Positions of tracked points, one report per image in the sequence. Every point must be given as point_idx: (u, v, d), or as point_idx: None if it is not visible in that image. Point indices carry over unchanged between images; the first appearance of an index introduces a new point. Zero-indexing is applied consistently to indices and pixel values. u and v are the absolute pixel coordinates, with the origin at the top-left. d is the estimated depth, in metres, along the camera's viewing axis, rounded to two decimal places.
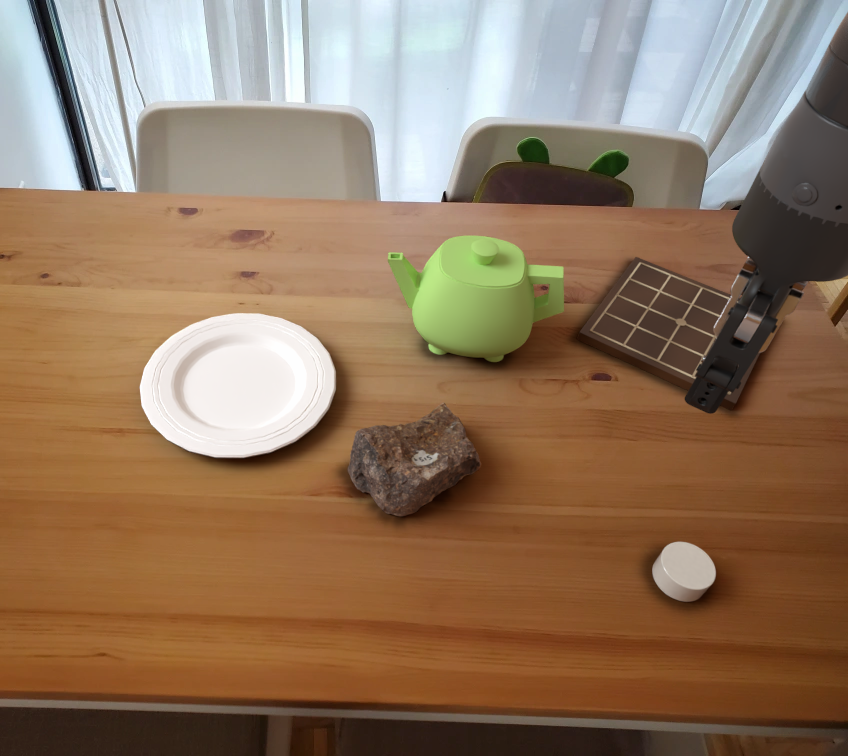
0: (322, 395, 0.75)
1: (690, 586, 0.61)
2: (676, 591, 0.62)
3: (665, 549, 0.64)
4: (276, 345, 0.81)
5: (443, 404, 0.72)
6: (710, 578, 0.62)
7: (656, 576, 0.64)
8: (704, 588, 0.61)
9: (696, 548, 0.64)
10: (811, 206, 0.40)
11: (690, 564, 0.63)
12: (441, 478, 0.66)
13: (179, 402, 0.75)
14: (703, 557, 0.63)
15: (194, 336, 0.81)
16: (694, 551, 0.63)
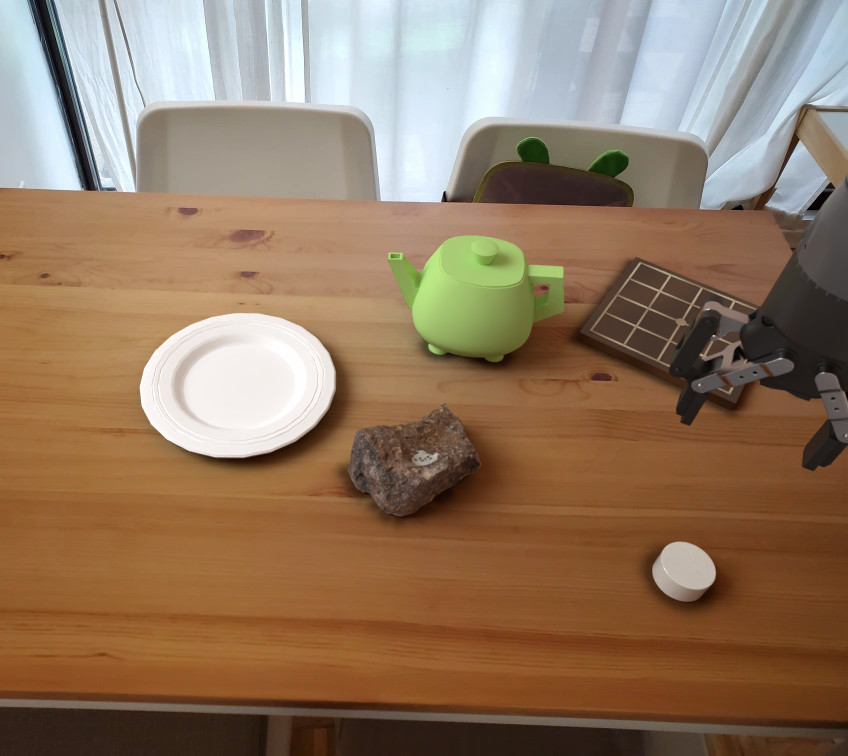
0: (322, 395, 0.75)
1: (690, 586, 0.61)
2: (676, 591, 0.62)
3: (665, 549, 0.64)
4: (276, 345, 0.81)
5: (443, 404, 0.72)
6: (710, 578, 0.62)
7: (656, 576, 0.64)
8: (704, 588, 0.61)
9: (696, 548, 0.64)
10: (801, 240, 0.42)
11: (690, 564, 0.63)
12: (441, 478, 0.66)
13: (179, 402, 0.75)
14: (703, 557, 0.63)
15: (194, 336, 0.81)
16: (694, 551, 0.63)
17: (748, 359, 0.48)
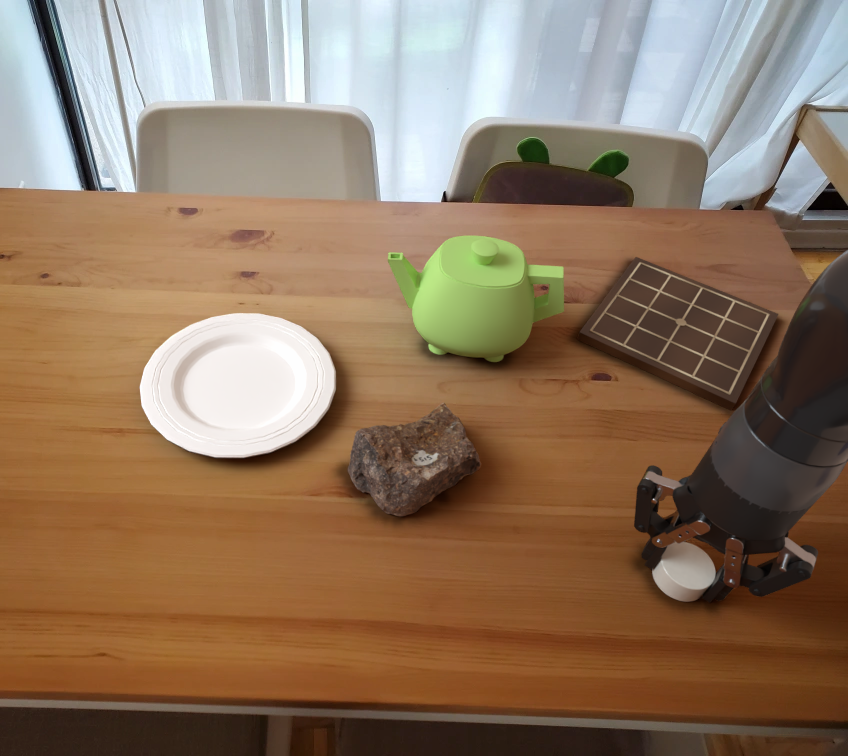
0: (322, 395, 0.75)
1: (690, 586, 0.61)
2: (676, 591, 0.62)
3: None
4: (276, 345, 0.81)
5: (443, 404, 0.72)
6: (710, 578, 0.62)
7: (656, 576, 0.64)
8: (704, 588, 0.61)
9: (696, 548, 0.64)
10: (717, 435, 0.53)
11: (690, 564, 0.63)
12: (441, 478, 0.66)
13: (179, 402, 0.75)
14: (703, 557, 0.63)
15: (194, 336, 0.81)
16: (694, 551, 0.63)
17: (679, 514, 0.58)
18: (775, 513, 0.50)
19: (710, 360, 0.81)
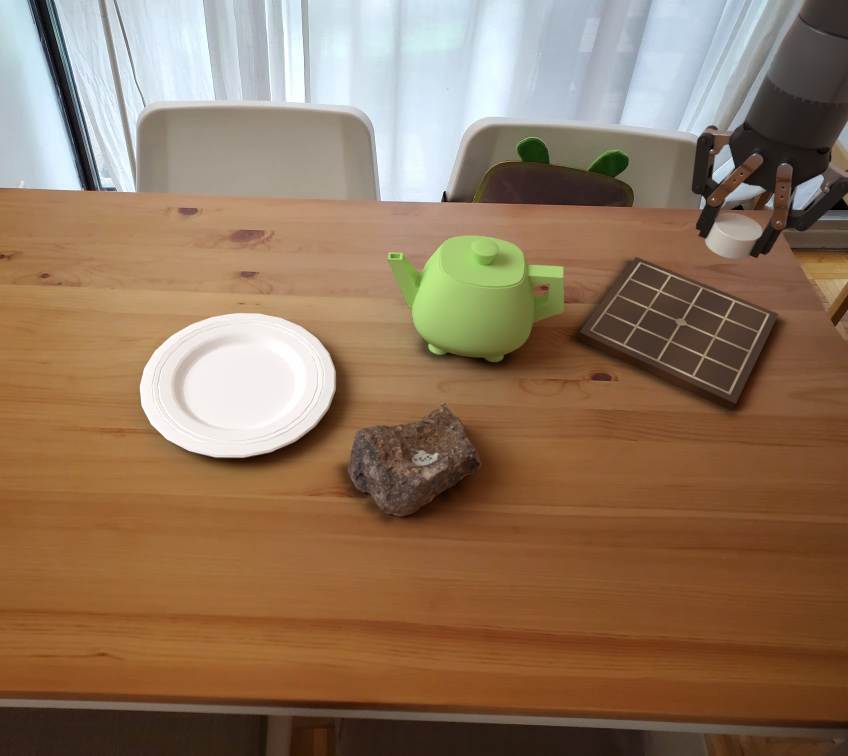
0: (322, 395, 0.75)
1: (741, 238, 0.70)
2: (728, 247, 0.71)
3: (717, 216, 0.72)
4: (276, 345, 0.81)
5: (443, 404, 0.72)
6: (758, 234, 0.70)
7: (709, 241, 0.72)
8: (753, 240, 0.70)
9: (744, 216, 0.72)
10: None
11: (740, 226, 0.71)
12: (441, 478, 0.66)
13: (179, 402, 0.75)
14: (751, 222, 0.72)
15: (194, 336, 0.81)
16: (742, 218, 0.72)
17: (734, 161, 0.67)
18: (824, 107, 0.58)
19: (710, 360, 0.81)
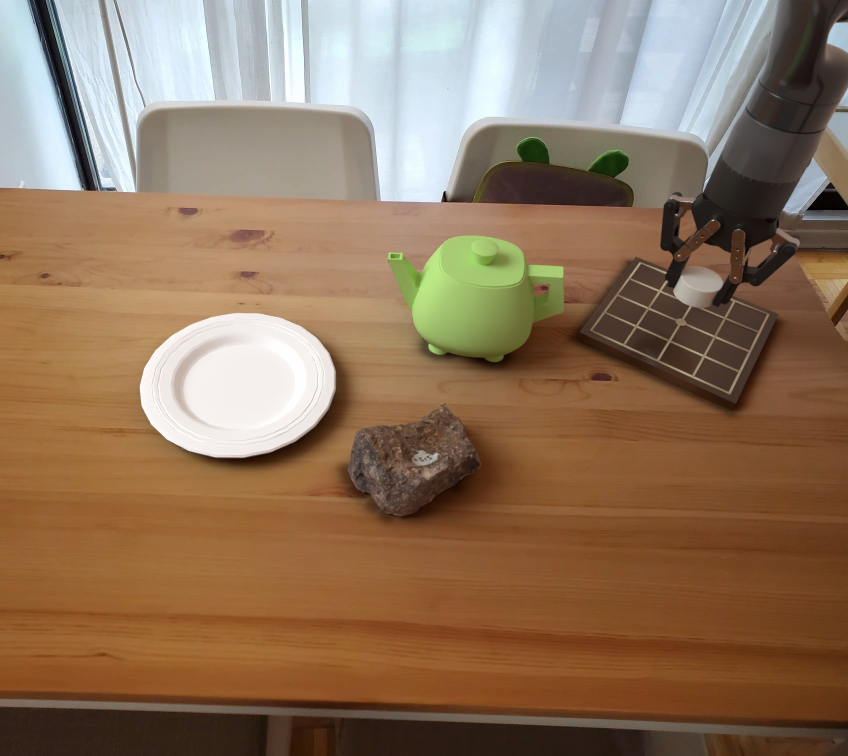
0: (322, 395, 0.75)
1: (703, 290, 0.79)
2: (692, 297, 0.80)
3: (683, 269, 0.81)
4: (276, 345, 0.81)
5: (443, 404, 0.72)
6: (719, 286, 0.80)
7: (676, 291, 0.82)
8: (714, 292, 0.79)
9: (708, 269, 0.82)
10: None
11: (703, 278, 0.81)
12: (441, 478, 0.66)
13: (179, 402, 0.75)
14: (713, 274, 0.81)
15: (194, 336, 0.81)
16: (706, 271, 0.81)
17: (696, 224, 0.76)
18: (769, 185, 0.68)
19: (710, 360, 0.81)
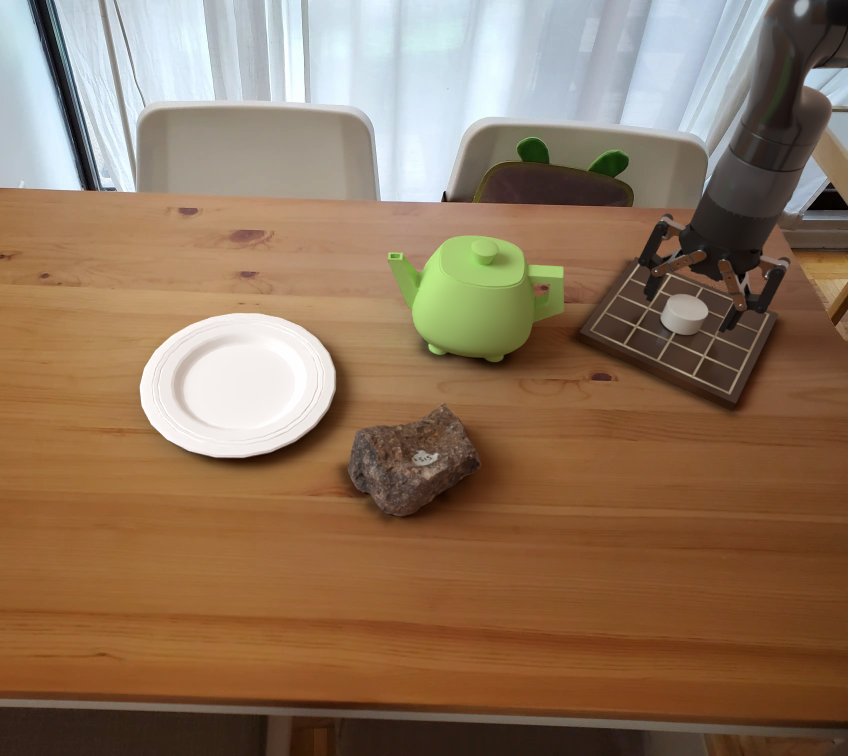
0: (322, 395, 0.75)
1: (689, 318, 0.82)
2: (678, 325, 0.83)
3: (670, 298, 0.85)
4: (276, 345, 0.81)
5: (443, 404, 0.72)
6: (704, 314, 0.83)
7: (663, 318, 0.85)
8: (699, 320, 0.82)
9: (693, 297, 0.85)
10: None
11: (689, 306, 0.84)
12: (441, 478, 0.66)
13: (179, 402, 0.75)
14: (699, 302, 0.84)
15: (194, 336, 0.81)
16: (692, 299, 0.85)
17: (683, 253, 0.79)
18: (751, 220, 0.70)
19: (710, 360, 0.81)
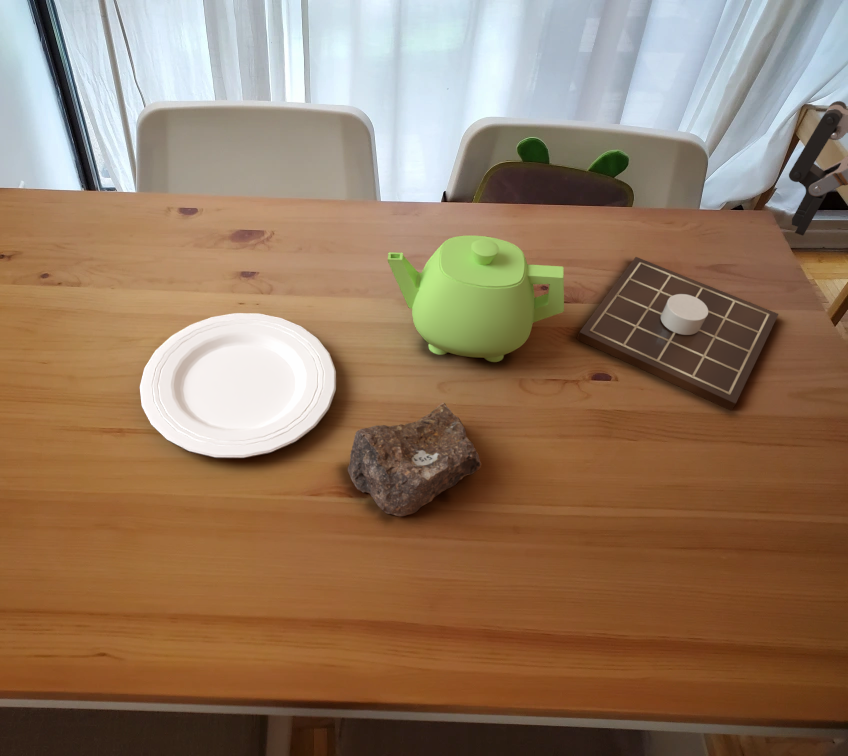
0: (322, 395, 0.75)
1: (689, 318, 0.82)
2: (678, 325, 0.83)
3: (670, 298, 0.85)
4: (276, 345, 0.81)
5: (443, 404, 0.72)
6: (704, 314, 0.83)
7: (663, 318, 0.85)
8: (699, 320, 0.82)
9: (693, 297, 0.85)
10: None
11: (689, 306, 0.84)
12: (441, 478, 0.66)
13: (179, 402, 0.75)
14: (699, 302, 0.84)
15: (194, 336, 0.81)
16: (692, 299, 0.85)
17: None
18: None
19: (710, 360, 0.81)
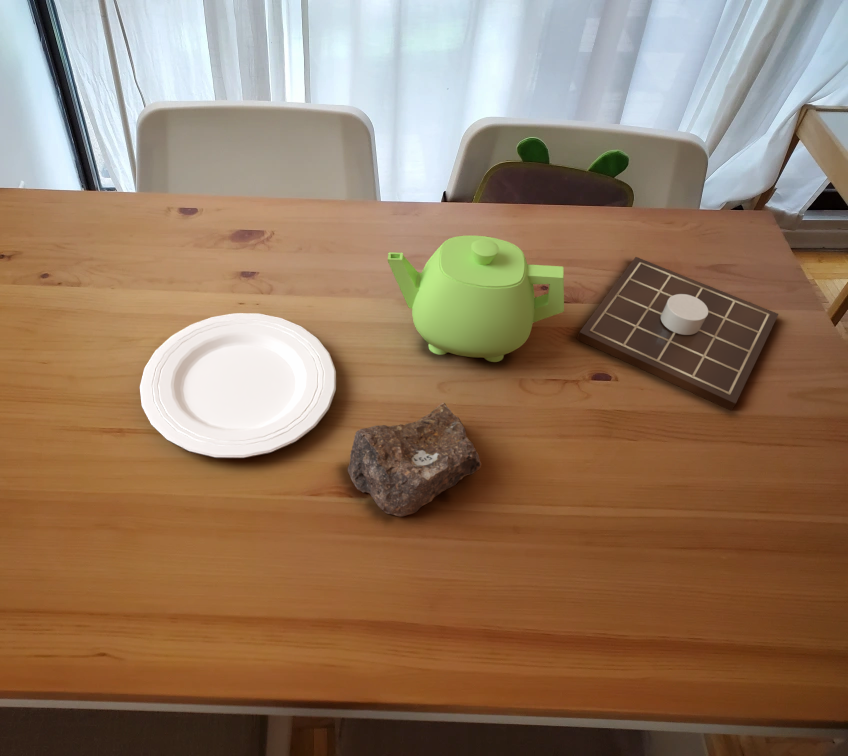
0: (322, 395, 0.75)
1: (689, 318, 0.82)
2: (678, 325, 0.83)
3: (670, 298, 0.85)
4: (276, 345, 0.81)
5: (443, 404, 0.72)
6: (704, 314, 0.83)
7: (663, 318, 0.85)
8: (699, 320, 0.82)
9: (693, 297, 0.85)
10: None
11: (689, 306, 0.84)
12: (441, 478, 0.66)
13: (179, 402, 0.75)
14: (699, 302, 0.84)
15: (194, 336, 0.81)
16: (692, 299, 0.85)
17: None
18: None
19: (710, 360, 0.81)
